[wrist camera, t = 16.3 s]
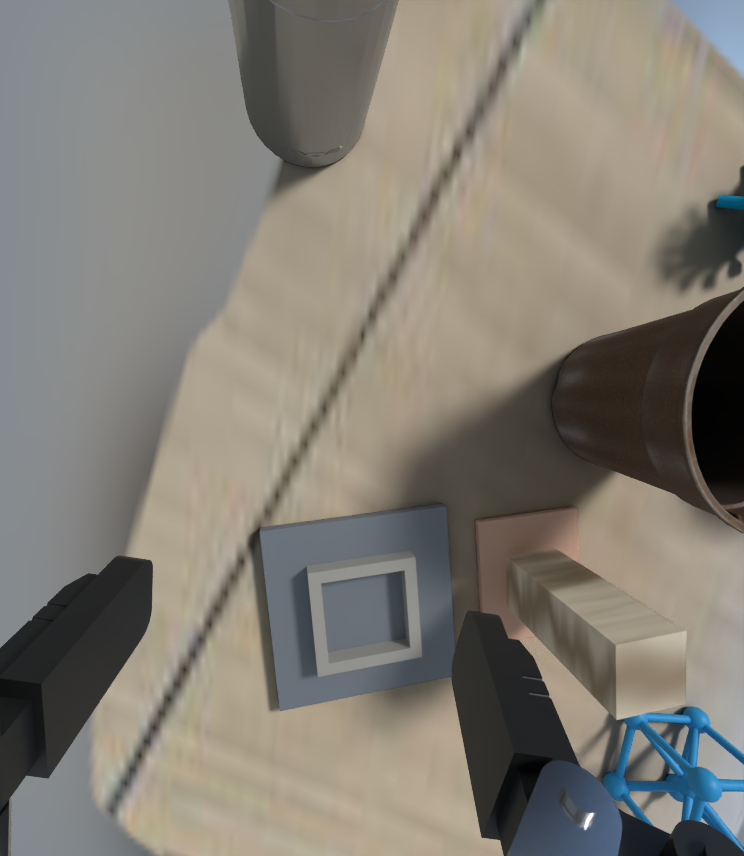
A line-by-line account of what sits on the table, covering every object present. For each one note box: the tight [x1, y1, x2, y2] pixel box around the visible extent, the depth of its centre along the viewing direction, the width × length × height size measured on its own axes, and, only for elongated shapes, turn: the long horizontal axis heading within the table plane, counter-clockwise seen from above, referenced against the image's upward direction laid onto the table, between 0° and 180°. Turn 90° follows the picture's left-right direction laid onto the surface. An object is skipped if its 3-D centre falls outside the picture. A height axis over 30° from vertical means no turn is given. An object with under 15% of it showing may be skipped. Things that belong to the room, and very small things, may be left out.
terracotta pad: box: [475, 506, 579, 640], centre depth 41 cm, size 12×10×1 cm
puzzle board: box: [260, 503, 455, 711], centre depth 38 cm, size 16×16×2 cm
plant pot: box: [552, 287, 744, 533], centre depth 33 cm, size 16×16×16 cm
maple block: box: [506, 548, 686, 720], centre depth 34 cm, size 5×5×14 cm
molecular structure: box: [604, 707, 744, 851], centre depth 41 cm, size 10×10×10 cm
